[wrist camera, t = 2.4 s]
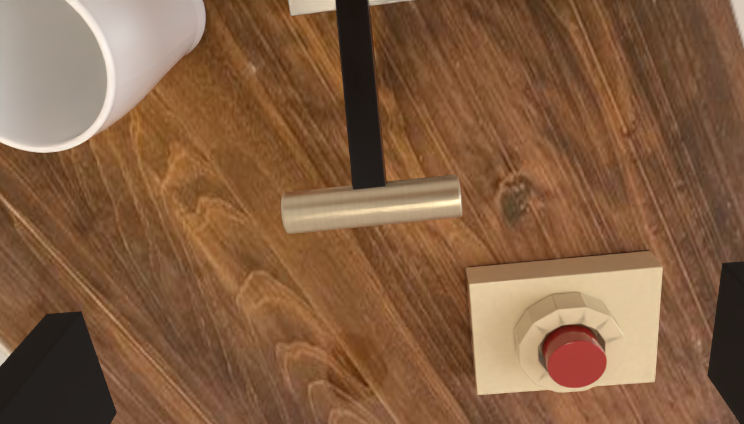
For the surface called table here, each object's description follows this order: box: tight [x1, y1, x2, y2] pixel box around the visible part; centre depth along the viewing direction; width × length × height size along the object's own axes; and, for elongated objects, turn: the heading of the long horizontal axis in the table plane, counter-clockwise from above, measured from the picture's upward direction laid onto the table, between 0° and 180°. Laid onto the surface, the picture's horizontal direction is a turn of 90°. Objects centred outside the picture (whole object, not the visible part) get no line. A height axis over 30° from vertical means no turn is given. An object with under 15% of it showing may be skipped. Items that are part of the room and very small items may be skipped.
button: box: [542, 325, 607, 388], centre depth 40 cm, size 4×4×2 cm
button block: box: [466, 251, 663, 395], centre depth 42 cm, size 12×9×4 cm
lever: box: [281, 0, 462, 234], centre depth 22 cm, size 14×6×2 cm, turn 7°
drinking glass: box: [0, 0, 206, 152], centre depth 30 cm, size 7×7×15 cm
